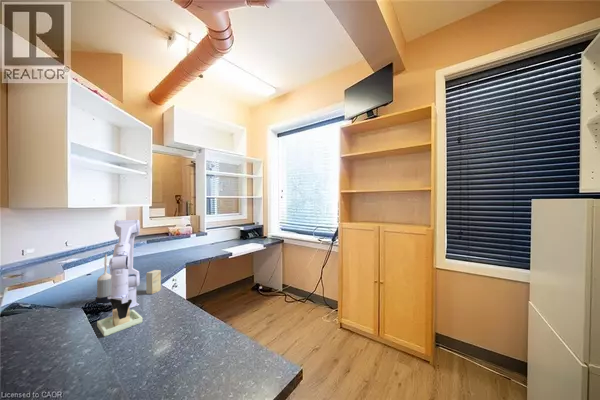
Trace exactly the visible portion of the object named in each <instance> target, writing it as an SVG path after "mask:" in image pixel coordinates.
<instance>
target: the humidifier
mask: <svg viewBox="0 0 600 400" xmlns="http://www.w3.org/2000/svg"><path fill="white" fill-rule="evenodd" d="M103 264H104V267H103V270H104V273H103V274H101V275H100V276H99V277H98V278H97V282H96V296H95V301H94V303H95V302H98V303H106V304H109V303H111V302H110V300H109V299H108V296H111V275H110V273H108V254H105V255H104V263H103Z"/></svg>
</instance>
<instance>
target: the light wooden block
mask: <svg viewBox="0 0 600 400" xmlns="http://www.w3.org/2000/svg"><path fill="white" fill-rule="evenodd" d="M161 275H162V270H161V269H153V270H151V271H148V272H146V274H145V276H146V278H145V279H146V282H145V283H146V285H145V287H146V291H145V292H146V294H148V295H153V294H155V293H158V292H161V290H162V281H161V280H162V276H161Z"/></svg>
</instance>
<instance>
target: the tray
mask: <svg viewBox="0 0 600 400" xmlns="http://www.w3.org/2000/svg"><path fill="white" fill-rule="evenodd" d="M143 319H144V318H143V316H142V315H140V314H139V313H138V312H137V311H136V310H135V309H130V321H129V322H127V323H124V324H121V325H118V326H116V327H115V326H114V325H113V315H112V316H109V317H105V318H103V319H100V320H97V321H96V327H97V329H98V330H99V332H100V333H101V334H102V336H103V338H105V337H108V336H110V335H114V334H116V333H120V332H122V331H124V330H126V329H129V328H132V327H134V326H137V325H140V324H143Z"/></svg>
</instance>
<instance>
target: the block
mask: <svg viewBox="0 0 600 400" xmlns="http://www.w3.org/2000/svg"><path fill="white" fill-rule="evenodd" d="M130 310H131V308H128V311H127V315H126V317H125V318H122V319H119V316H118V311H117V309H114V310H113V309H112V316H113V325H114V326H115V327H116V326H118V325H121V324H124V323H127V322H129V321H130Z"/></svg>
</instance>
